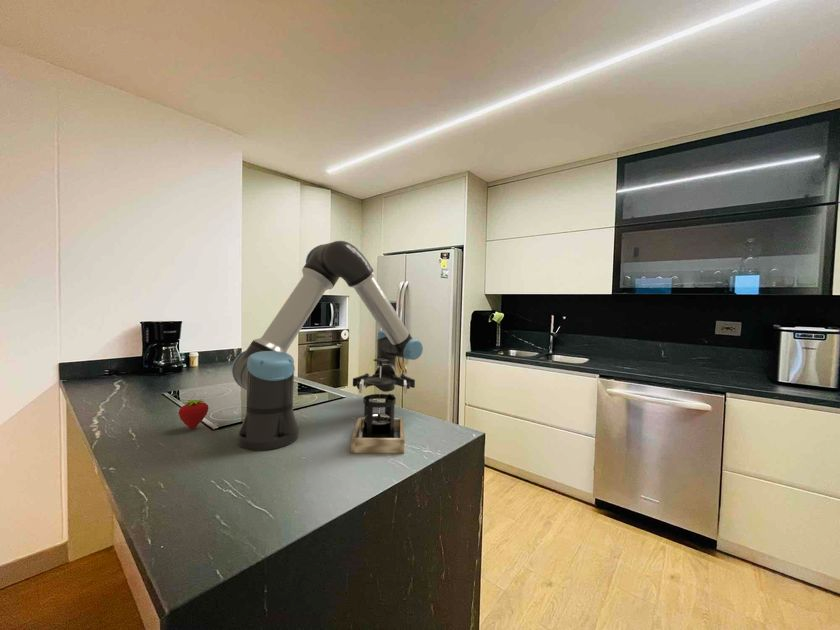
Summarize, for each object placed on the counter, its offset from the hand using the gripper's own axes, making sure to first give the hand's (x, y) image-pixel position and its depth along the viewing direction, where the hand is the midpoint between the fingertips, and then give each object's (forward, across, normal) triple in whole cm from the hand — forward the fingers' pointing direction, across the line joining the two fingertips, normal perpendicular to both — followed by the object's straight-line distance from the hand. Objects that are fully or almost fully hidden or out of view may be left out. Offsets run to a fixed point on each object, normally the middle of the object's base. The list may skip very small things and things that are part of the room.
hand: (383, 388), depth 102 cm
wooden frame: (+8, 0, -12) cm, 15 cm away
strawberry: (+1, +54, -13) cm, 56 cm away
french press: (+8, 0, -13) cm, 15 cm away
